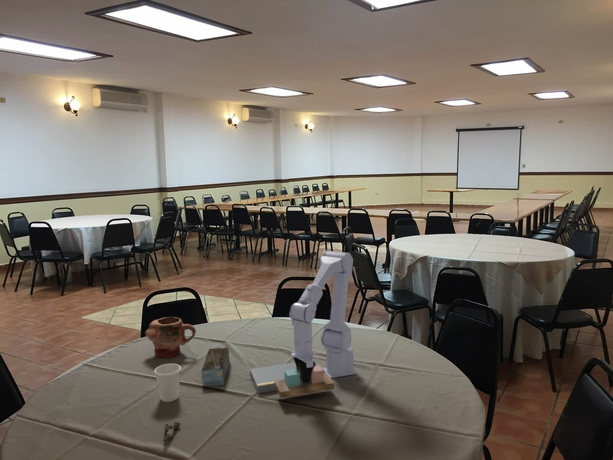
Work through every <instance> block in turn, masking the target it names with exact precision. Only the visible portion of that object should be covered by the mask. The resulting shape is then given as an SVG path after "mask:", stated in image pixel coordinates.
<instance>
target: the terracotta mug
mask: <svg viewBox="0 0 613 460" xmlns="http://www.w3.org/2000/svg"><path fill="white" fill-rule="evenodd" d="M186 330H189V331H191V333H192V334H191V336H190V337H188V338H186ZM196 331H197V330H196V328H195V327H194V325H192V324H189V323H185V324H184V322H183V320H182V319H181V318H179V317H175V316H167V317H162V318H159V319H155V320H153V321H152V322H150V323H149V326H148V329H147V330H145V332H144V333H145V336H146V337H147V338H148V340H149V341H150V342H151V343H152V344H153V347H154V355H155V356H156V357H157V358H162V359H163V358H166V359H167V358H173V357H176V356H178V355H179V353H180V352H181V347H180V346H184V345H186V344H188V343H189V342H190V341H191V340H192V339H193V338H194V337H195V336H196Z"/></svg>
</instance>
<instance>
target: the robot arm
mask: <svg viewBox="0 0 613 460" xmlns="http://www.w3.org/2000/svg"><path fill="white" fill-rule="evenodd" d="M319 260H320V261H319V262H320V267H319V268H318V272H317V274H316V276H315V277H314V280H313V283H310V284H308V285H306V288H305V290H304V291H303V293H302V295H301V296H300V298H299V300H298V301H297V302H294V303H293V304H292V305H291V306H290V310H289V318H290V319H291V325H292V326H293V341H294V342H293V343H294V344H293V345H294V347H293V349H294V351H293V352H291V353H290V357H291V358H292V359H293V361H294V362H295V364H296V367H299V368H300V372H301V377H302V381H303V383H309V382H310V378H311V374H312V371H313V369H314V367H315V366H316V365H317V364H316V361H314V360H313V358H314V357H313V356H314V351H313V331H312V330H313V329H312V328H313V327H312V324H313V323H312V322H313V321H314V319H315V317H316V310H317V305H318V304H319V302H320V300H321V298H322V296H323V294H324V293H323V289H324V286H325V285H326V284H327V282H328V281H329V280H330V278H331V276H333V278H334V279H333V289H332V297H331V298H332V299H331V306H330V307H331V309H330V316H329V317H330V318H329V321H328V322H326V324H324V325H323V329H322V332H321V335H320V343H321V344H322V346H323V347H324V350H325V353H326V354H325V356H326V359H325V361H326V364H325V366H326V367H322V369H323V371H324V373H327V374H328V376H329V377H330V378H331V379H332V378H340V377H345V376H351V375H355V371H354V369H355V367H354V365H355V364H354V363H355V362H354V361H355V360H354V359H355V358H354V353H353V349H352V347H351V345H352V334H351V333H352V331H351V330H352V329H351V327H349V326H348V324H347V323H346V322H345V321H346V312H347V311H346V308H347V299H348V288H349V281H350V277H351V276H352V275H353V266H354V258H353V256H352V254H351V253H350V252H342V251H334V250H333V251H332V250H327V249H326V250H324V251H323V253H322V254H321V257H320V259H319Z"/></svg>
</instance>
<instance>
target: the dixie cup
mask: <svg viewBox="0 0 613 460" xmlns="http://www.w3.org/2000/svg"><path fill="white" fill-rule="evenodd" d="M181 369H182V366H181V365H179V364H177V363H165V364H161V365H159V366H157V367H156V368H154V371H153V372H154V374H155V378H156V382H157V387H158V392H159V397H160V400H161V401H162V402H165V403H170V402H174V401H176V400H177V399H179V394H180V378H181Z"/></svg>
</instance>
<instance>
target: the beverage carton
mask: <svg viewBox="0 0 613 460" xmlns="http://www.w3.org/2000/svg"><path fill="white" fill-rule="evenodd" d="M229 351H230V350H229V347H219V348H218V347H217V348H209V349H208V350H207V353H206V357H205V359H204V362H203V365H202V369H201V382H202V386H203V387H204V386H224V385H225V383H226V378H227V374H228V370H229V367H230V352H229Z"/></svg>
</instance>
